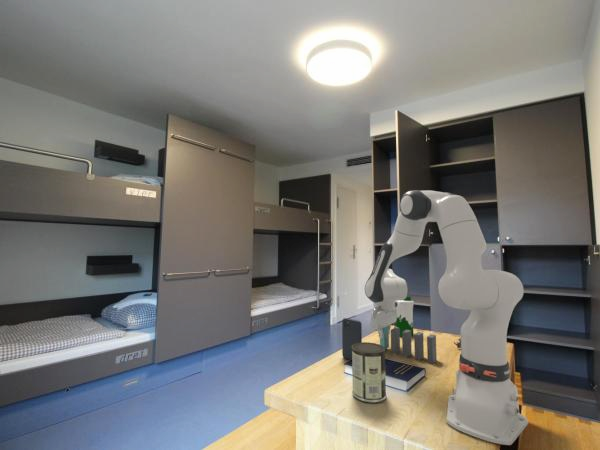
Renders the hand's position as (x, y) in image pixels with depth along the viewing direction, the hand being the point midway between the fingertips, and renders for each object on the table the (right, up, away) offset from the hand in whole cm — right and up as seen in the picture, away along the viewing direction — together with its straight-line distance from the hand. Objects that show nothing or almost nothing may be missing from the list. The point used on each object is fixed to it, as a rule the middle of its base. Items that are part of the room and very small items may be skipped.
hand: (384, 336), depth 131 cm
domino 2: (+4, -6, -4) cm, 8 cm away
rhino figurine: (+37, -7, -2) cm, 38 cm away
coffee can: (-16, -3, -40) cm, 43 cm away
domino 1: (0, -5, 0) cm, 5 cm away
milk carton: (+16, -8, +22) cm, 29 cm away
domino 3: (+8, -6, -7) cm, 12 cm away
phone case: (-17, -5, -13) cm, 22 cm away
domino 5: (+15, -5, -13) cm, 21 cm away
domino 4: (+12, -5, -10) cm, 16 cm away
